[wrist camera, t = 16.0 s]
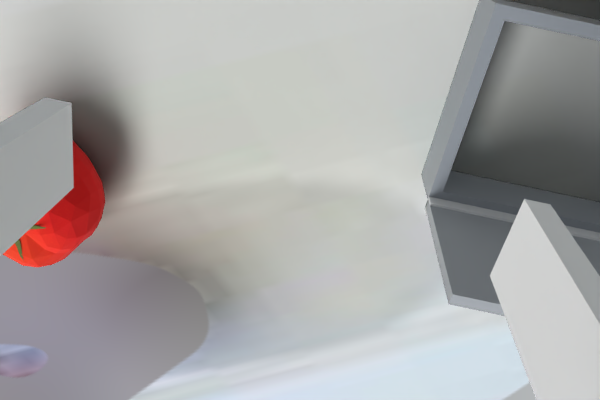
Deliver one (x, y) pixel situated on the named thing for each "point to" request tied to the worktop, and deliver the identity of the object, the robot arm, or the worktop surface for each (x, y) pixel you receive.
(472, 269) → the case
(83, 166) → the tomato
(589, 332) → the robot arm
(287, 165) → the worktop surface
